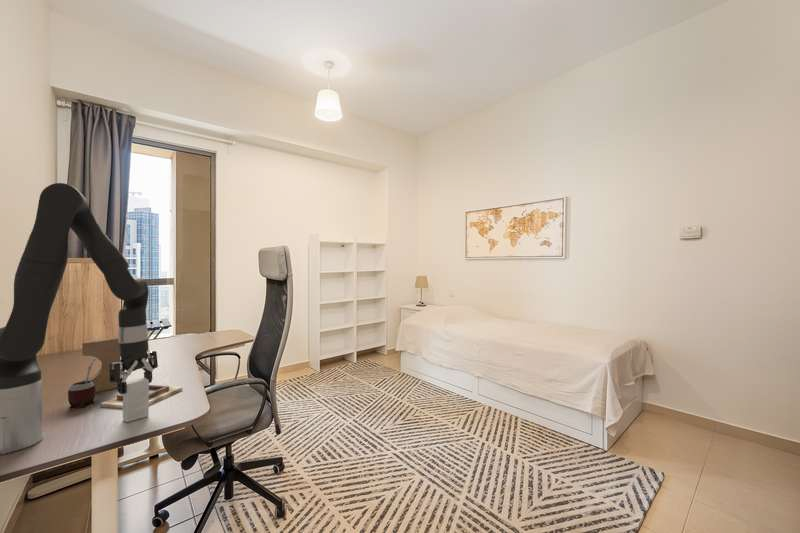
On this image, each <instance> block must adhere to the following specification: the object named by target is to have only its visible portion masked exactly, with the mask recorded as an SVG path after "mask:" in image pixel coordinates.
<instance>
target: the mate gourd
mask: <svg viewBox="0 0 800 533" xmlns="http://www.w3.org/2000/svg"><path fill="white" fill-rule="evenodd" d="M95 361H96V359H95V358H94V359H93V360H92V361H91V362H90V364H89V366H88V368H87V374H86V378H85V379H86V381H83V380H82V381H78V382H74V383H73V384H71V385H70V386H69V388H68V391H67V400H68V403H69V405H70V406H69V409H75V408H79V406H80V409H84V408H85V406H87V405H91V404H95V401H94V400H95V397H96V393H95V385H94V383H93V382H92V381H88V378H89V377H90V372H91V370H92V367H93V365H94V362H95Z"/></svg>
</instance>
